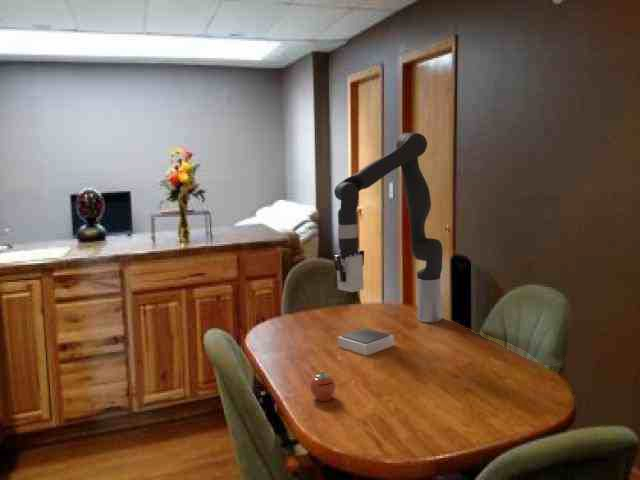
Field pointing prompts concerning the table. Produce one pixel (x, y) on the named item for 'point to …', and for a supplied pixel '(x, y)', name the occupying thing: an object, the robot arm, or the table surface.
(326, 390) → the tomato
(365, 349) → the stack base
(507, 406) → the table surface
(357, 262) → the small box
